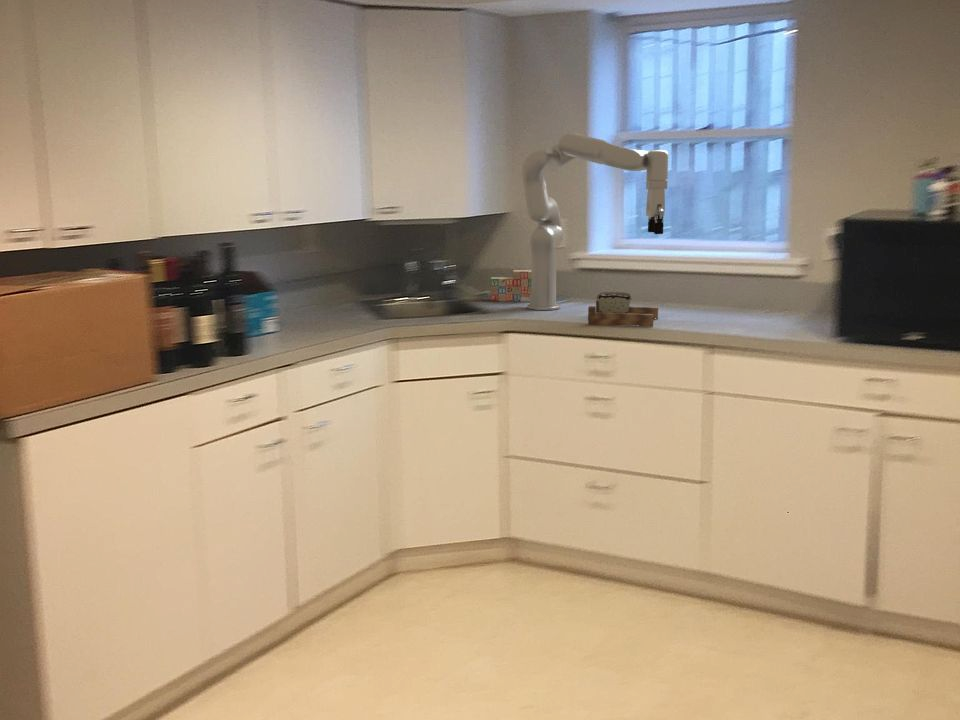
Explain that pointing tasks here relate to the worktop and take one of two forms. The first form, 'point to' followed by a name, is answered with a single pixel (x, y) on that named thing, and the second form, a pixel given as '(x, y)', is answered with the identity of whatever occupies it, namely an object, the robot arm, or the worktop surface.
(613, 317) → the wooden tray
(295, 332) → the worktop surface
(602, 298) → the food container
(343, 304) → the worktop surface
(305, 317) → the worktop surface
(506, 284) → the stack of blocks
